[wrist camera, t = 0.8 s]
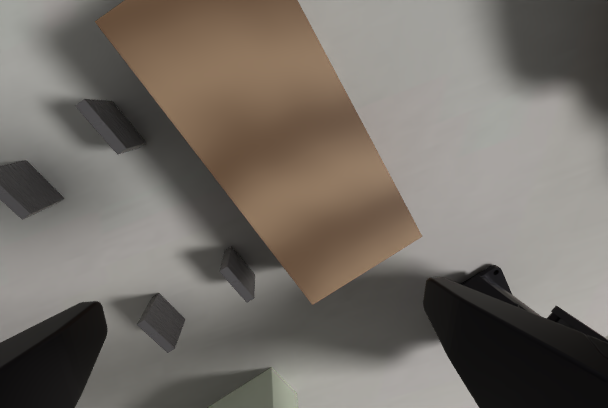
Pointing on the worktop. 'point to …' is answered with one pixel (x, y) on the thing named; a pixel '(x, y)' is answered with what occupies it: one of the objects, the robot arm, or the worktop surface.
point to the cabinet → (251, 140)
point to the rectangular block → (261, 393)
